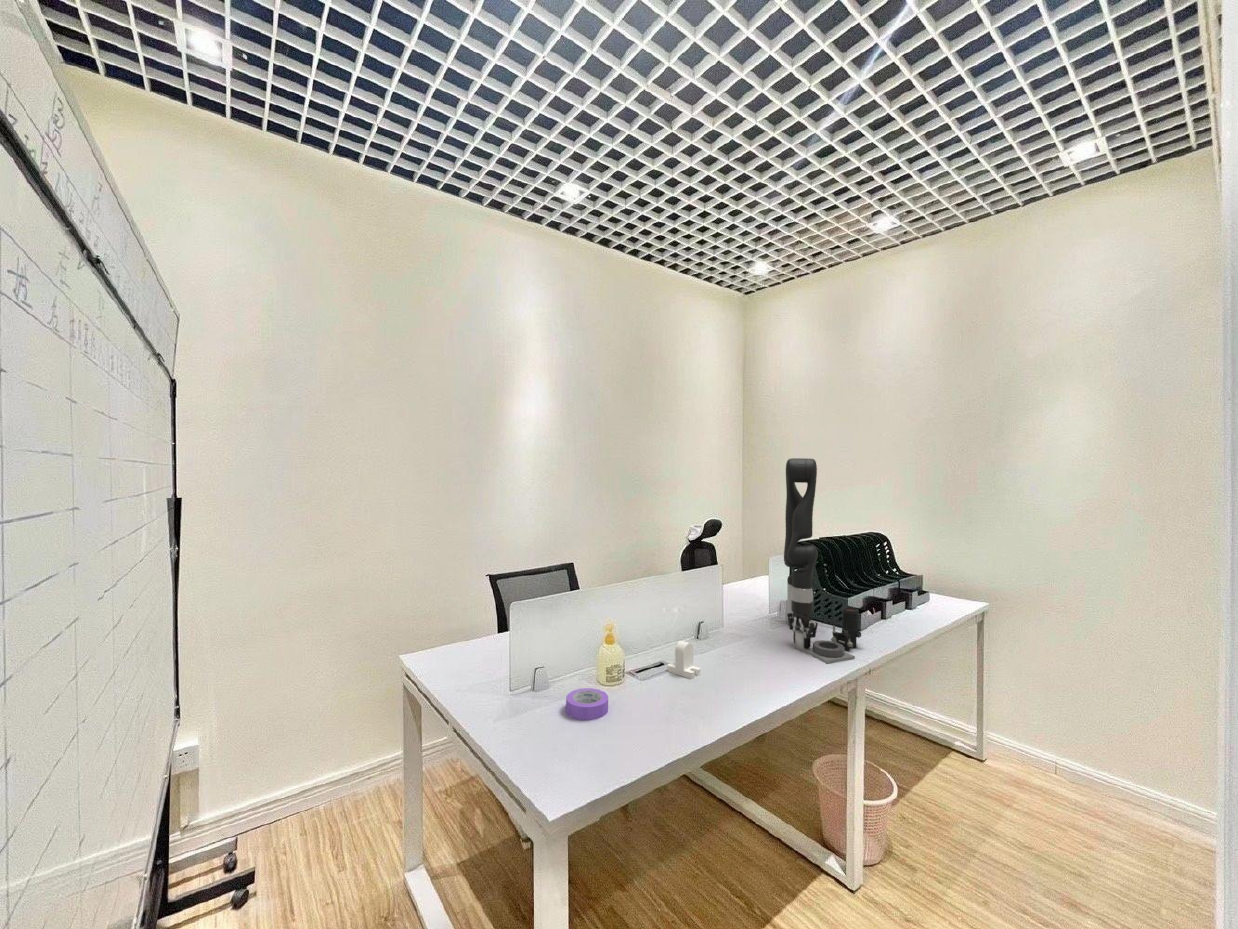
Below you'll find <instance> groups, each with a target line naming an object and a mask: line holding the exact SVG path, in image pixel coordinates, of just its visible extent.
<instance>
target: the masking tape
mask: <svg viewBox="0 0 1238 929" xmlns="http://www.w3.org/2000/svg"><path fill="white" fill-rule="evenodd" d="M565 699H566V700H565V713H566V715H567V716H568V717H570V718H571V719H575V720H578V721H592V720H593V721H594V720H597V719H600V718H603V717H604V716H606V715H607V714H608V711H609V695H608V694H607V692H605V691H603V690H601V689H598V688H591V687H587V688H586V687H585V688H584V687H583V688H577V689H574V690H572V691H570V692H569V693H567V695H566V697H565Z"/></svg>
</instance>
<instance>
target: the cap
mask: <svg viewBox="0 0 1238 929" xmlns="http://www.w3.org/2000/svg"><path fill="white" fill-rule="evenodd" d="M806 632H807V631H806ZM807 634H808V632H807ZM804 638H805V637H804V633H803V632H802V629H800V630H796V631H795V643H794V648H795V650H798V651H802V652H803V649H805V648H804Z"/></svg>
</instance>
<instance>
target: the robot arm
mask: <svg viewBox="0 0 1238 929" xmlns="http://www.w3.org/2000/svg"><path fill="white" fill-rule="evenodd" d="M817 466H818V465H817V461H816V460H815V459H814V458H804V457H803V458H802V457H801V458H798V457H794V458H793V457H792V458H788V459H787V461H786V464H785V487H786V488H785V489H786V500H785V517H784V518H785V539H784V547H783V548H784V550H783V562H784V565H785V566H786V567H787V568H798V569H795V570H794V571H792V572H791V574H790V575H788V576H787V581H786V582H787V584H786V586H787V587H786V588H787V589H786V590H787V599H786V600H785V623H786V624H787V626H788V628H789V630H790V631H792V633H793V643H794V644H795V631H796V630H802V632H803V633H804V637H805V638H804V648H811V639H812V638H816V634H817V629H818V624H819V623H818V622H817V621H816V622H815V621H814V620H812V619H813V618H812V614H813V612H814V592H813V576H814V575H813V574H814V570H815V566H816V563H817V560H818V557H819V556H818V555H819V553H818V548H816V546H814V545H811V544H798V543H799V541H800V540H805V539H806V540H807V539H811V538H812V537H813V523H814V522H813V516H814V515H813V514H814V512H813V511H814V505H815V497H816V488H817V487H816V486H817V476H818V475H817V474H818V467H817ZM796 483H799V484H800V483H801V484H802V483H805V484H806V490H805V492H804V495H803V496H802V495H801V493H800V492H799V490H798V488H797V485H796ZM806 631H807V632H808V634H807V632H806Z"/></svg>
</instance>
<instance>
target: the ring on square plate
mask: <svg viewBox="0 0 1238 929" xmlns="http://www.w3.org/2000/svg"><path fill="white" fill-rule="evenodd" d="M802 652H804V653H805V654H806V655H809V656H811V657H813V658H815V659H817V660H819V661H821V662H823V663H825V664H826V665H827V664H833V663H835V664H836V663H839V662H845V661H846V662H847V661H851V660H855V658H856V657H855V655H854V654H852V653H849V652H848V651H845V648H844V646H843V645H842V644H839V643H837V642H833V641H831V640H825V639H823V640H822V639H821V640H815V641H813V642H812V647H811V646H810V648H805V649H803V651H802Z"/></svg>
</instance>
